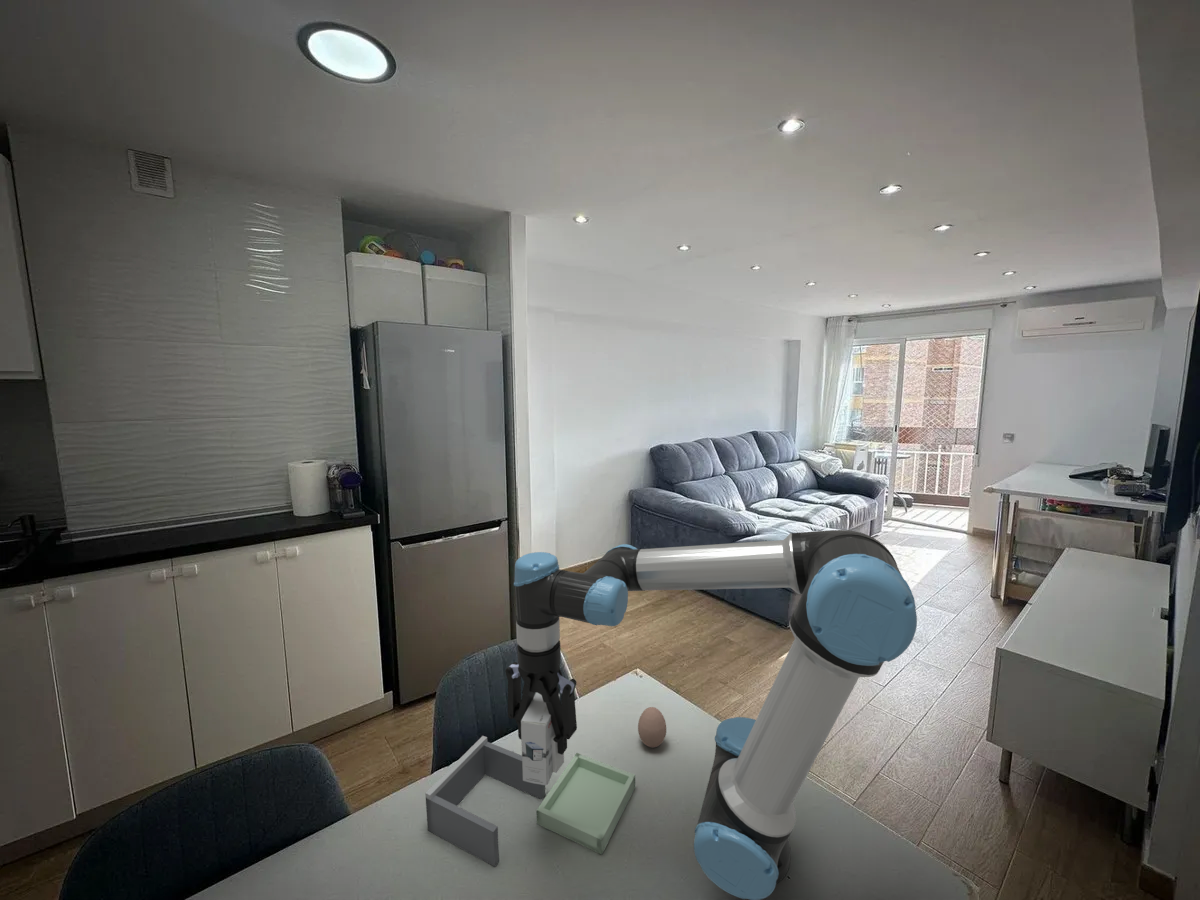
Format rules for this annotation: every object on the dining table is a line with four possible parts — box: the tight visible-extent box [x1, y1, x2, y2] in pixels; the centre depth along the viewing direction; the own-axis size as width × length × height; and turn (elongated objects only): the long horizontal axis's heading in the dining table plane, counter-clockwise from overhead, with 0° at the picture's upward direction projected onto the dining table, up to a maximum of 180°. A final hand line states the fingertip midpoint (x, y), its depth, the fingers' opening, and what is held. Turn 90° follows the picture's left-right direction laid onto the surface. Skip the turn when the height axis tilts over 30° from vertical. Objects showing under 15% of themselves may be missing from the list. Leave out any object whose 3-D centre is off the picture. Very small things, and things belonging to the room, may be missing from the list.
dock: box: [425, 735, 546, 868], centre depth 94 cm, size 16×16×8 cm
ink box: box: [521, 692, 561, 786], centre depth 86 cm, size 9×5×12 cm, turn 168°
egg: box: [637, 706, 667, 748], centre depth 111 cm, size 7×7×9 cm
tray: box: [535, 752, 636, 855], centre depth 96 cm, size 14×16×3 cm
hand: (543, 760), depth 87 cm, fingers closed on ink box, 6 cm apart
